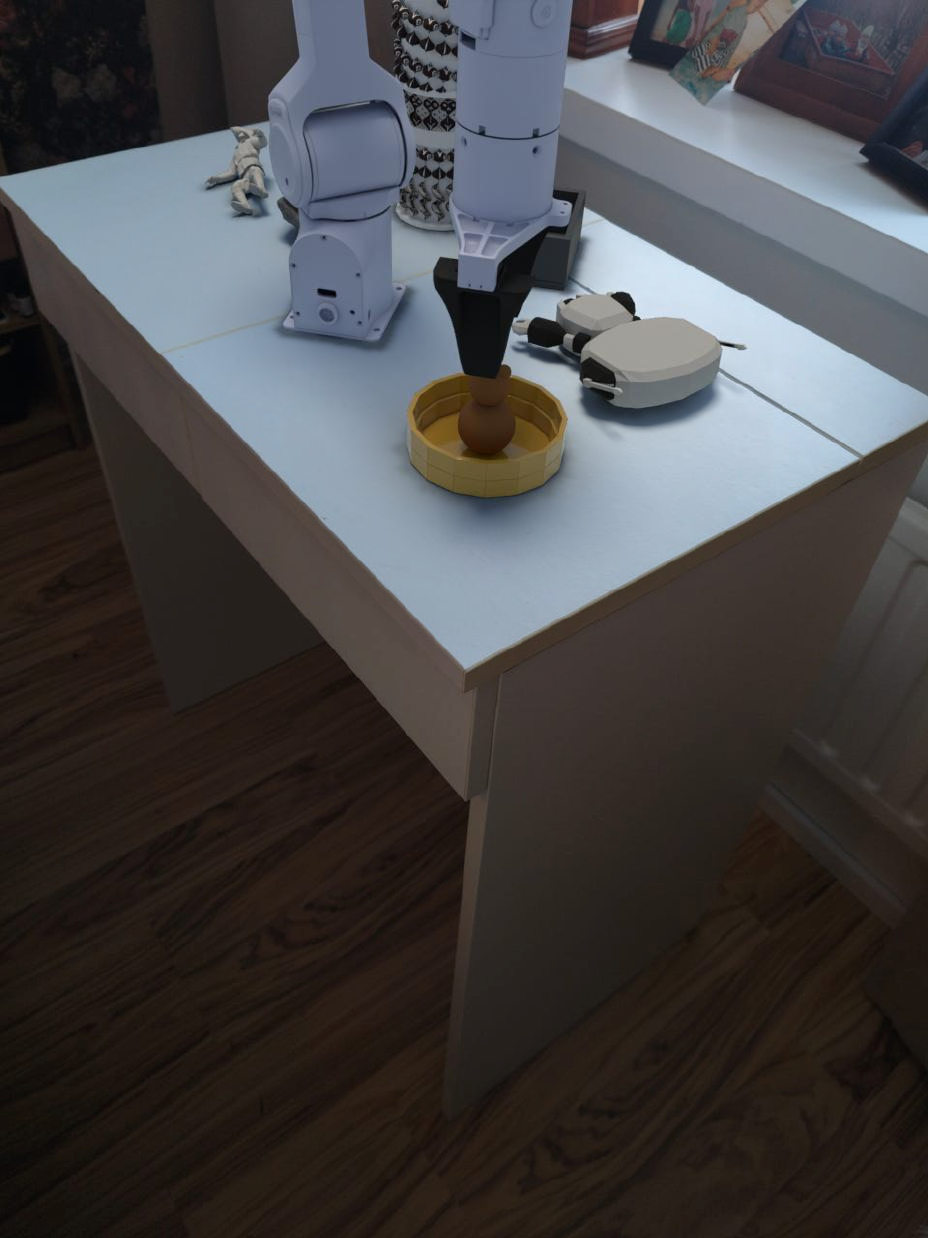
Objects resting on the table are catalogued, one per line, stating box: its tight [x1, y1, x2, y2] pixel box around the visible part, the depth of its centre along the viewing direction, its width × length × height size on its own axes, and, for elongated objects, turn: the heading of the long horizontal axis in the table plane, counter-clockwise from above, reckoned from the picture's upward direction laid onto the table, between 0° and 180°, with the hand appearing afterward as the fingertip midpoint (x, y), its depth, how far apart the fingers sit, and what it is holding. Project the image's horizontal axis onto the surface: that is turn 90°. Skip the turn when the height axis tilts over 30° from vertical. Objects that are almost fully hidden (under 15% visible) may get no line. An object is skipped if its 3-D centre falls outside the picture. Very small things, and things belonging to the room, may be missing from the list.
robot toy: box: [511, 290, 748, 409], centre depth 78 cm, size 12×4×15 cm
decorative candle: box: [390, 0, 459, 232], centre depth 89 cm, size 9×9×25 cm
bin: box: [531, 186, 587, 291], centre depth 90 cm, size 10×9×5 cm
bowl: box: [406, 372, 569, 499], centre depth 70 cm, size 11×11×3 cm
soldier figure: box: [204, 126, 269, 215], centre depth 98 cm, size 8×5×12 cm
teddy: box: [458, 363, 516, 454], centre depth 68 cm, size 4×4×7 cm
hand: (492, 342), depth 65 cm, fingers open, 7 cm apart
